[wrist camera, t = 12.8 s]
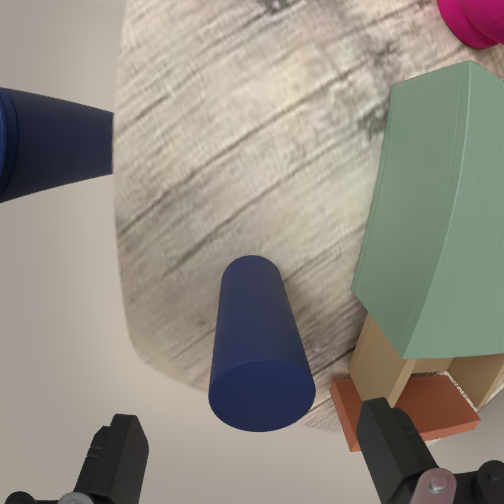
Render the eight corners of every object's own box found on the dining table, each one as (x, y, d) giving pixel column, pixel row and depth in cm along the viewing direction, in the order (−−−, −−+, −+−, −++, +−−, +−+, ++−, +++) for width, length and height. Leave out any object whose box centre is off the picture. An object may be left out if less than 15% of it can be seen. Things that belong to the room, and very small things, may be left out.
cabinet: (476, 301, 23) (535, 349, 15) (350, 289, 22) (401, 359, 13) (514, 145, 18) (587, 155, 10) (390, 85, 17) (470, 58, 9)
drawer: (423, 413, 26) (450, 458, 19) (315, 421, 25) (330, 481, 18) (496, 254, 20) (549, 284, 14) (380, 228, 19) (436, 263, 13)
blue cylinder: (218, 305, 22) (204, 427, 11) (225, 251, 20) (213, 352, 10) (275, 312, 22) (301, 434, 11) (286, 259, 21) (328, 362, 10)
